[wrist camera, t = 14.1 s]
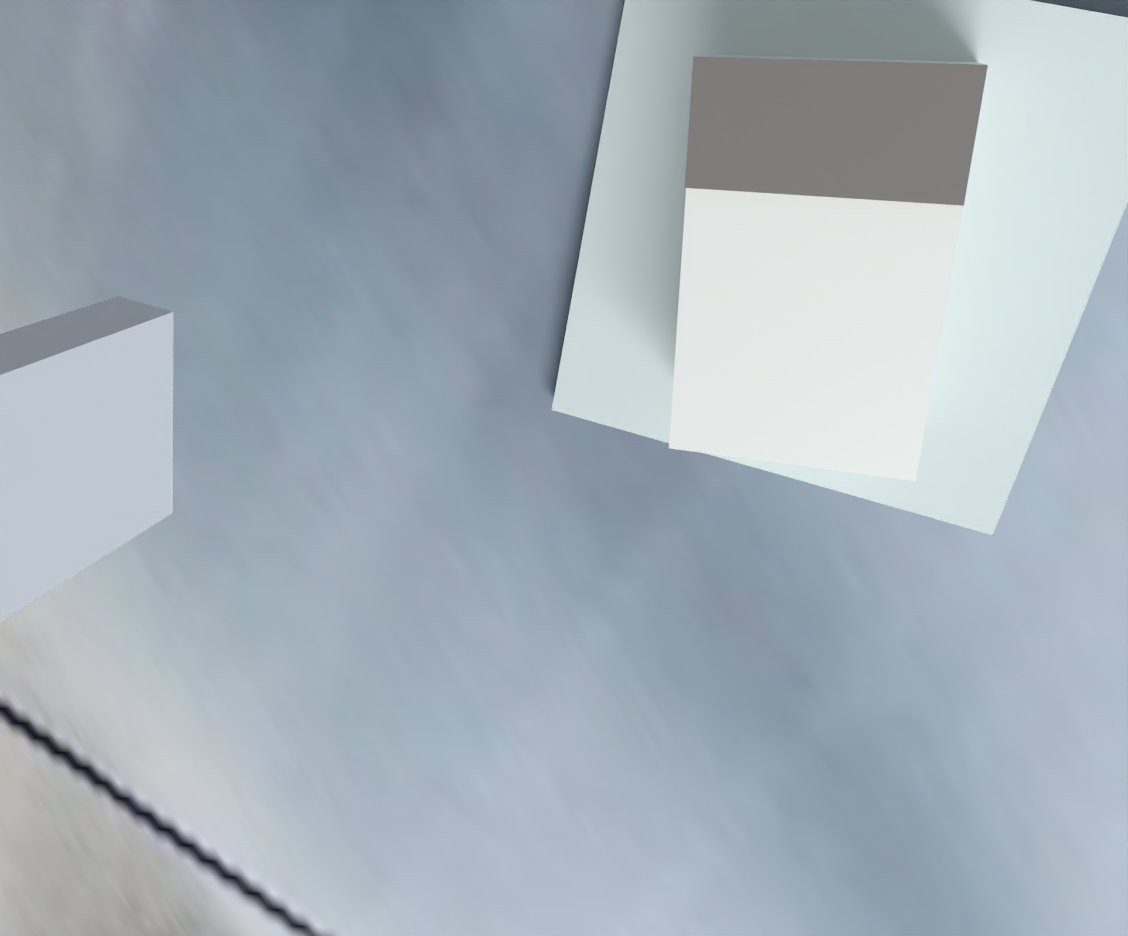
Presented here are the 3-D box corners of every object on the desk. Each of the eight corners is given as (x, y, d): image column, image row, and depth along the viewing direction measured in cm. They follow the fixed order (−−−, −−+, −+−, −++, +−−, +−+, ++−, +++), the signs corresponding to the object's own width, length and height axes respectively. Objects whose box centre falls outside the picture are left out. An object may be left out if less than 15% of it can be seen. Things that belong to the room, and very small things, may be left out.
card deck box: (915, 429, 30) (915, 484, 26) (696, 403, 32) (667, 450, 28) (977, 62, 26) (987, 64, 22) (723, 54, 28) (693, 56, 24)
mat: (557, 404, 34) (551, 409, 33) (642, -67, 28) (637, -70, 27) (990, 526, 31) (992, 534, 30) (1191, 30, 25) (1197, 29, 24)
